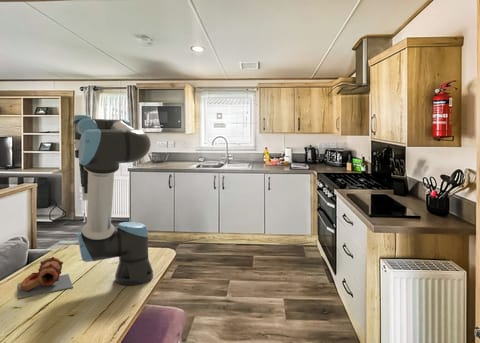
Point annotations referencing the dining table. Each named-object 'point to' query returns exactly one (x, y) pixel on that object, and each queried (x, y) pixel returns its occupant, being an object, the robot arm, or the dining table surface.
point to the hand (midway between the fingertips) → (85, 200)
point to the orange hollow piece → (44, 274)
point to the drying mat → (46, 287)
